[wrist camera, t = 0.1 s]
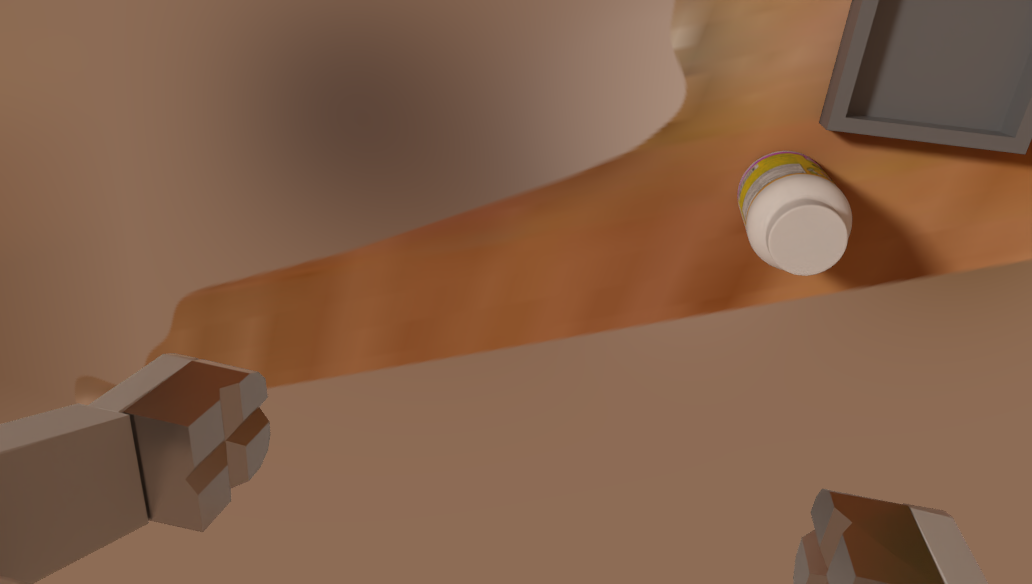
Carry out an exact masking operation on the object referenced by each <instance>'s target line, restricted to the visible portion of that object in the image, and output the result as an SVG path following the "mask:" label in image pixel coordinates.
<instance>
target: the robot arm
mask: <svg viewBox="0 0 1032 584" xmlns="http://www.w3.org/2000/svg"><path fill="white" fill-rule="evenodd" d="M266 398H267V389H266V380H265V378H264V377H263V376H262V375H261V374H260V373H259V372H256V371H252V370H247V369H243V368H239V367H234V366H230V365H226V364H221V363H217V362H213V361H208V360H204V359H198V358H194V357H190V356H185V355H180V354H175V353H171V354H163V355H161V356H160V357H158V358H157V359H155V360H154V361H152V362H151V363H149V364H148V365H146V366H145V367H144V368H142V369H141V370H139V371H138V372H136V373H135V374H133V375H132V376H130V377H129V378H127V379H126V380H124V381H123V382H121V383H120V384H118V385H117V386H116V387H114V388H113V389H111V390H110V391H108V392H107V393H105V394H104V395H102V396H101V397H99V398H98V399H96V400H95V401H93V402H92V403H90V404H89V405H83V404H79V403H78V404H75V405H71V406H67V407H63V408H60V409H56V410H52V411H48V412H45V413H41V414H37V415H34V416H29V417H26V418H22V419H18V420H15V421H11V422H7V423H4V424H0V584H33V583H35V582H37V581H39V580H41V579H43V578H45V577H46V576H48V575H50V574H52V573H54V572H56V571H58V570H60V569H62V568H64V567H66V566H67V565H69V564H71V563H73V562H75V561H77V560H79V559H81V558H83V557H85V556H87V555H88V554H91V553H92V552H94V551H96V550H98V549H100V548H102V547H104V546H106V545H108V544H110V543H112V542H114V541H116V540H117V539H119V538H121V537H123V536H125V535H127V534H129V533H131V532H133V531H135V530H137V529H138V528H140V527H142V526H144V525H146V524H148V523H149V522H148V520H150V521H154V522H160V523H164V524H168V525H173V526H177V527H182V528H187V529H191V530H196V531H200V532H203V531H204V530H205V529H206V528H207V527H208V526H209V525H210V524H211V523H212V521H213V520H214V519H215V518H216V517H217V516H218V515H219V514H220V513H221V511H222V510H223V509H224V508H225V507H226V506H227V505H228V504H229V502H230V501H231V488H233V487H235V486H238V485H240V484H242V483H245V482H247V481H249V480H250V479H251V478H252V476H253V475H254V474H255V473H256V472H257V470H259V468H260V467H261V464H262V462H263V460H264V458H265V455H266V453H267V451H268V446H269V440H270V423H269V420H268V419H267V417H266V416H265V415H264V413H263V412H262V410H261V409H260V408H259V407H260V406H261V404H262V403H263V402H264V401H265V400H266ZM811 515H812V519H813V523H814V527H815V530H813V531H812V532H810V533H809V534H807V535H806V536H804V537H802V539H801V542H800V545H799V549H798V552H797V555H796V560H795V569H794V577H793V579H794V584H988V582H987V580H986V579H985V577H984V575H983V573H982V571H981V569H980V567H979V565H978V564H977V562H976V560H975V558H974V556H973V554H972V553H971V551H970V549H969V547H968V545H967V543H966V542H965V539H964V538H963V536H962V534H961V532H960V530H959V529H958V527H957V525H956V523H955V521H954V519H953V518H952V516H951V515H949V514H948V513H947V512H945V511H943V510H937V509H931V508H926V507H920V506H914V505H909V504H898V503H893V502H887V501H882V500H877V499H872V498H867V497H862V496H856V495H852V494H847V493H841V492H836V491H831V490H826V489H822V490H821V491H820V492H819V494H818V495H817V497H816V499H815V502H814V504H813V507H812V510H811Z"/></svg>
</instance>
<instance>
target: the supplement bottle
mask: <svg viewBox="0 0 1032 584" xmlns="http://www.w3.org/2000/svg"><path fill="white" fill-rule="evenodd" d="M738 204H739V208H740V212H741V215H742V218H743V221H744V225H745V228H746V231H747V235H748V239H749V242H750V244H751V246H752V248H753V250H754V251H755V253H756V254H757V255H758V256H759V257H760V258H761V259H762V260H763V261H765V262H766V263H768V264H769V265H771V266H773V267H776V268H778V269H782V270H785V271H787V272H789V273H792V274H795V275H802V276H805V275H814V274H818V273H821V272H823V271H826V270H827V269H829V268H831V267H832V266H833V265H834V264H836V263H837V262H838V261H839V260H840V258H841V257H842V255H843V254H844V252H845V250H846V247H847V243H848V238H849V235H850V232H851V228H852V212H851V208H850V205H849V202H848V200H847V198H846V197H845V195H844V194H843V193H842V191H841V190H840V189H839V188H838V187H837V186H836V184H835V183H834V182H833V181H832V180H831V179H830V177H829V176H828V175H827V174H826V173H825V172H824V170H823V169H822V168H821V167H820V166H819V165H818V164H817V163H816V162H815V161H814V160H812V159H811V158H810V157H808V156H806V155H804V154H801V153H798V152H793V151H778V152H773V153H770V154H768V155H765V156H763V157H761V158H760V159H758V160H757V161H755V162H754V163H753V164H752V165H751V166H750V167H749V168H748V169H747V170H746V172H745V173H744V175H743V177H742V179H741V181H740V184H739V187H738Z"/></svg>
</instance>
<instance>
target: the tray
mask: <svg viewBox="0 0 1032 584" xmlns="http://www.w3.org/2000/svg"><path fill="white" fill-rule="evenodd" d="M819 123H820V124H821V125H822V126H823V127H824V128H825V129H826V130H832V131H840V132H848V133H856V134H864V135H872V136H880V137H888V138H897V139H905V140H913V141H921V142H929V143H937V144H945V145H953V146H961V147H969V148H978V149H986V150H994V151H1002V152H1010V153H1018V154H1026V152H1027V149H1028V147H1029V144H1030V142H1031V139H1032V0H852V3H851V7H850V10H849V14H848V18H847V21H846V25H845V29H844V32H843V36H842V40H841V44H840V47H839V51H838V55H837V58H836V62H835V66H834V69H833V73H832V77H831V80H830V84H829V88H828V92H827V95H826V99H825V103H824V106H823V110H822V114H821V117H820V121H819Z"/></svg>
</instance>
